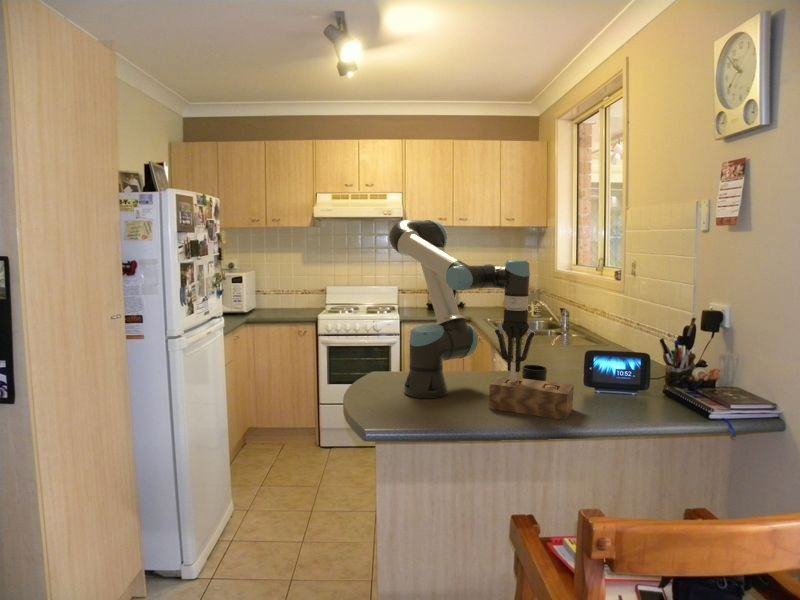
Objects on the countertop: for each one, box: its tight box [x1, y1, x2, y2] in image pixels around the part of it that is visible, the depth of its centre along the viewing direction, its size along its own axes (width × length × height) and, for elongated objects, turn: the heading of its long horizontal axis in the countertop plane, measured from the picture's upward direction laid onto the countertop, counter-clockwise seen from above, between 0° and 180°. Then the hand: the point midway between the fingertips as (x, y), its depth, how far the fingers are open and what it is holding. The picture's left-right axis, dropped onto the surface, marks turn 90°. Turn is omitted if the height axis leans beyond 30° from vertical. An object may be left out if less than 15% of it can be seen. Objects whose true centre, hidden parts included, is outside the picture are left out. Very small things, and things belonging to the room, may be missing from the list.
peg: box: [545, 385, 557, 390], centre depth 176 cm, size 4×4×8 cm
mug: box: [521, 364, 548, 381], centre depth 197 cm, size 8×12×10 cm
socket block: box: [488, 375, 575, 421], centre depth 179 cm, size 24×12×8 cm, turn 64°
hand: (513, 381), depth 181 cm, fingers closed
